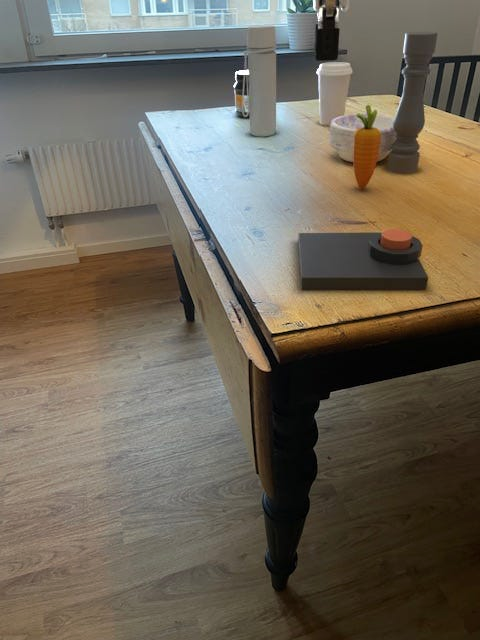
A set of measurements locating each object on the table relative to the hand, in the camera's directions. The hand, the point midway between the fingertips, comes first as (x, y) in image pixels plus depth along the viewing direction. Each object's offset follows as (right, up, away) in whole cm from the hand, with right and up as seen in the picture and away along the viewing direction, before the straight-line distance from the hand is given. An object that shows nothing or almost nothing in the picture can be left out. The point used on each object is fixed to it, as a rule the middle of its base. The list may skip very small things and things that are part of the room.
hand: (325, 56), depth 77 cm
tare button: (+8, -30, -8) cm, 33 cm away
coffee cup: (+13, +15, +65) cm, 68 cm away
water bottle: (-8, +9, +57) cm, 58 cm away
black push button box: (+3, -33, -6) cm, 34 cm away
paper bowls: (+15, -4, +36) cm, 39 cm away
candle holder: (+21, -9, +28) cm, 37 cm away
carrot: (+10, -16, +19) cm, 27 cm away
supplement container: (-9, +22, +77) cm, 81 cm away
